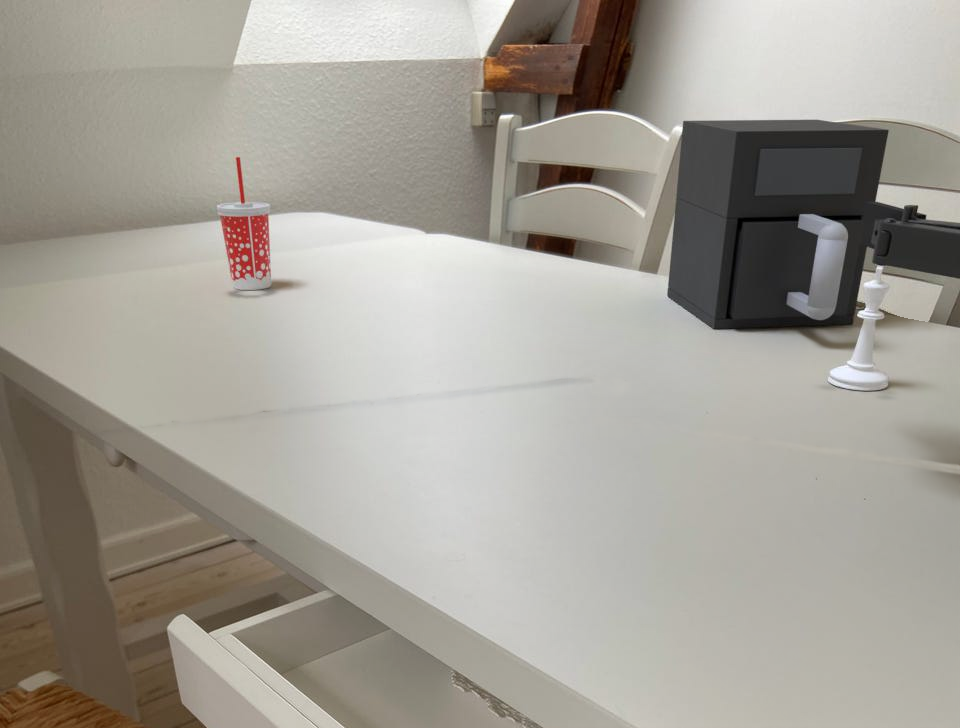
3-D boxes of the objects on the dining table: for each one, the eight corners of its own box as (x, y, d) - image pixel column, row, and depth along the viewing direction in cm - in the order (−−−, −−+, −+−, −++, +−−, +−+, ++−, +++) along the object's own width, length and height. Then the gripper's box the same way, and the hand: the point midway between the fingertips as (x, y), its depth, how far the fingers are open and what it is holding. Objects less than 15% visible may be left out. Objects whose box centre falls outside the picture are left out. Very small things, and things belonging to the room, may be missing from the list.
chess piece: (890, 378, 87) (916, 256, 81) (885, 393, 83) (912, 266, 78) (831, 371, 88) (853, 252, 83) (823, 386, 84) (845, 261, 79)
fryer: (854, 325, 103) (890, 129, 94) (714, 330, 101) (737, 131, 92) (790, 292, 117) (817, 119, 108) (666, 296, 115) (683, 120, 106)
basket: (882, 333, 95) (904, 223, 90) (762, 338, 94) (777, 226, 89) (785, 284, 115) (799, 192, 110) (684, 287, 114) (694, 194, 109)
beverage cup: (273, 279, 124) (260, 154, 117) (282, 289, 119) (269, 158, 112) (222, 283, 122) (206, 155, 115) (230, 292, 117) (214, 160, 110)
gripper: (941, 360, 52) (781, 281, 70) (1363, 347, 55) (1105, 274, 73) (979, 205, 48) (799, 163, 66) (1429, 200, 51) (1140, 161, 70)
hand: (959, 221), depth 70 cm, fingers open, 13 cm apart
